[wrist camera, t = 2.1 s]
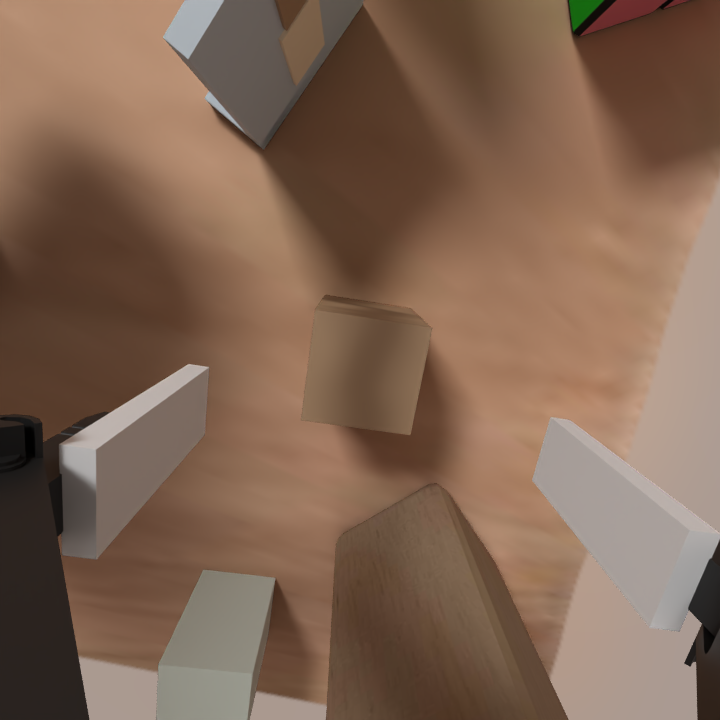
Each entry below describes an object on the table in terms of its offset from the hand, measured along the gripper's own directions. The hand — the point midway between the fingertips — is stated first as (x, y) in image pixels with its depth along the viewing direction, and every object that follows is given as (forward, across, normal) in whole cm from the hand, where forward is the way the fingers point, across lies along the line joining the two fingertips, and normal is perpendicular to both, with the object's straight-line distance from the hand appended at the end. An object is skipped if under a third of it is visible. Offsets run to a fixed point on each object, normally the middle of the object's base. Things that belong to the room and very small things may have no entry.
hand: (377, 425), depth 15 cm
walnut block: (+14, 0, 0) cm, 14 cm away
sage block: (+14, -8, -24) cm, 29 cm away
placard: (+14, -8, +17) cm, 23 cm away
